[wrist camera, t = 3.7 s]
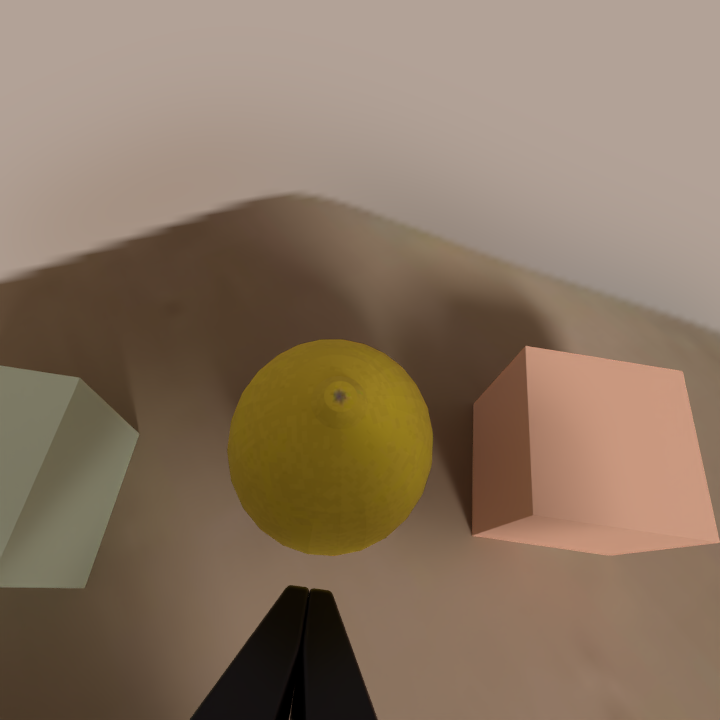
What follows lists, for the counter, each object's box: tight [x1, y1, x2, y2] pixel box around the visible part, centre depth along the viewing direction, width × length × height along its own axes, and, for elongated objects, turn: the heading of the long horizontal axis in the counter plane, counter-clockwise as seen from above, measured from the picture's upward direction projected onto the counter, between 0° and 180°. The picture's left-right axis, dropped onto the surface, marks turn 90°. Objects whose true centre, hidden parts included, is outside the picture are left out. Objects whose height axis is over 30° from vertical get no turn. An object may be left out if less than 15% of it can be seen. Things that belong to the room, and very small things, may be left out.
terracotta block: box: [472, 346, 720, 556], centre depth 15 cm, size 5×5×5 cm
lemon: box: [227, 339, 433, 556], centre depth 13 cm, size 6×6×8 cm
